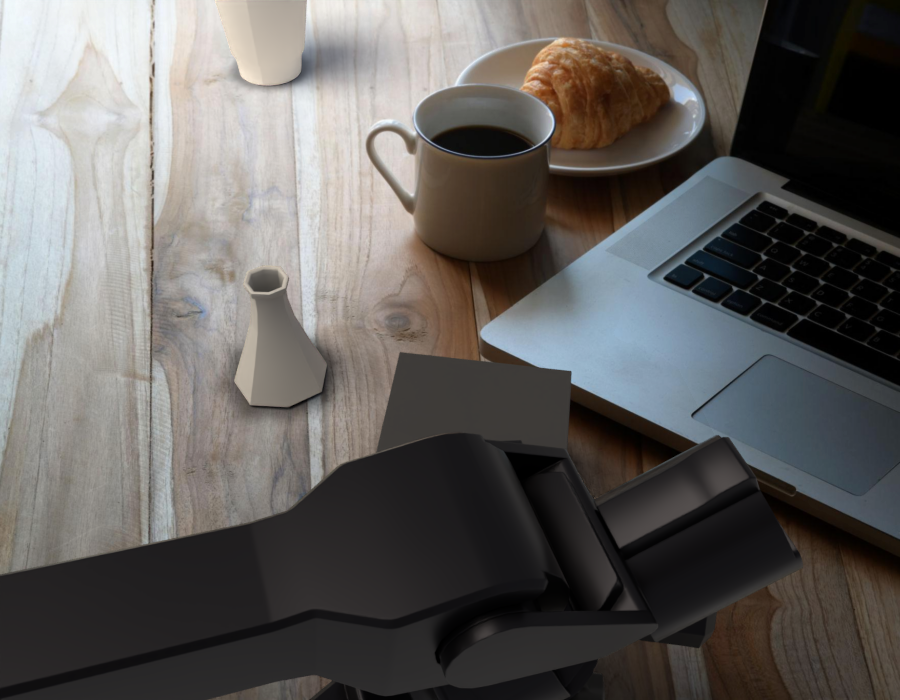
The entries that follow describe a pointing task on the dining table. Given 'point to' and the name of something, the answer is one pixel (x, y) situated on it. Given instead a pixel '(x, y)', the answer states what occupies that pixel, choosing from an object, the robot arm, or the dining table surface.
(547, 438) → the box
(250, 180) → the dining table surface
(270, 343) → the flask
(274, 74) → the cup
